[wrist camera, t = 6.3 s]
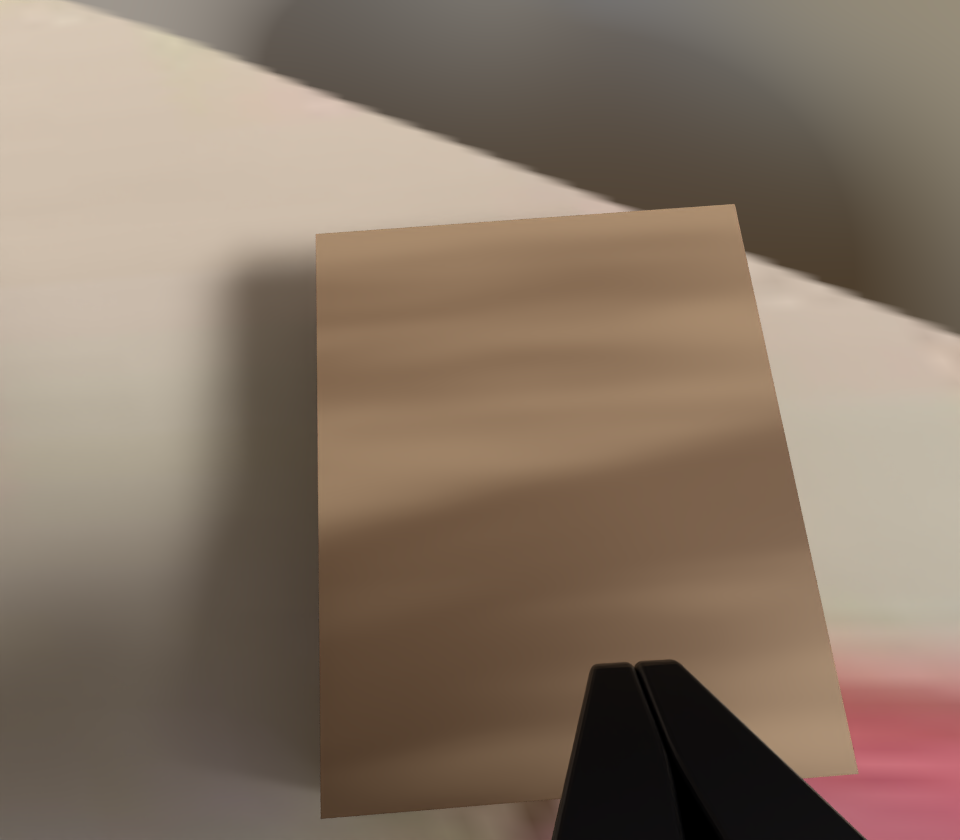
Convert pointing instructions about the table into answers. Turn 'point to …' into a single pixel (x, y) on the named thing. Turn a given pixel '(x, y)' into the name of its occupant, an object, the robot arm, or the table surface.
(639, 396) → the brown block
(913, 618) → the table surface
